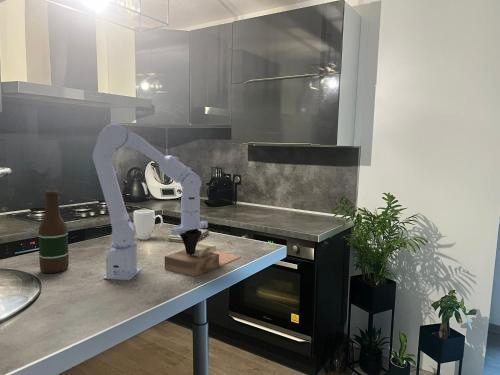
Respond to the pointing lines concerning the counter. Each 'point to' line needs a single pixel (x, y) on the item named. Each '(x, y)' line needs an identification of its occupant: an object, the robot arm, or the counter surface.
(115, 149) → the robot arm
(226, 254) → the mat
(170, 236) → the washcloth
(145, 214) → the mug
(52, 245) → the beer bottle
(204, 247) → the tile
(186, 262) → the brown flat block
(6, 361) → the counter surface
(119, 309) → the counter surface
